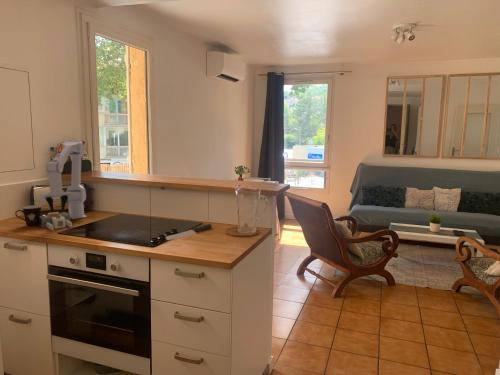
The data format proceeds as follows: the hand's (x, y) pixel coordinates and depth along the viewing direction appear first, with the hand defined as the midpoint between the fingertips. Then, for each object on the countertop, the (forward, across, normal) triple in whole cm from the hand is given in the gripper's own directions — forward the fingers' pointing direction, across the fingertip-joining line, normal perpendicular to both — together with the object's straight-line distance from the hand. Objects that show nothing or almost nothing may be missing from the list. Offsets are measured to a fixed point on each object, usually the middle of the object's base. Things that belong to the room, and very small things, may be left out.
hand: (57, 210), depth 200 cm
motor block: (+9, 0, +7) cm, 11 cm away
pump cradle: (+9, 0, -1) cm, 9 cm away
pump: (+9, 0, 0) cm, 9 cm away
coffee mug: (+9, -10, +14) cm, 19 cm away
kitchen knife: (+9, +44, -58) cm, 73 cm away
